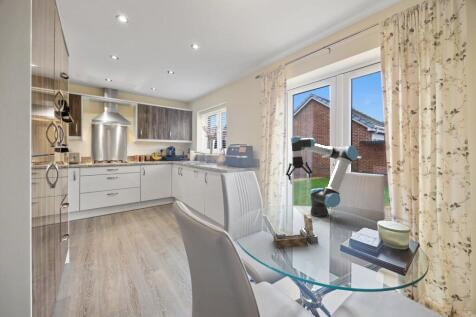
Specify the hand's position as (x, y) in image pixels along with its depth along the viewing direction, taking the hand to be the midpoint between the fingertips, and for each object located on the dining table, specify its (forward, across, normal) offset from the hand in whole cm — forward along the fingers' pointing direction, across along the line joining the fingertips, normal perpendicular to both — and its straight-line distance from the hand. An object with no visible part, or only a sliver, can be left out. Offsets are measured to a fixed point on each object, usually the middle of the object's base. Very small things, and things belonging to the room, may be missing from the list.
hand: (299, 183), depth 155 cm
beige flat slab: (+33, +4, +24) cm, 41 cm away
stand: (+33, +4, +24) cm, 41 cm away
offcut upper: (+30, +23, +26) cm, 46 cm away
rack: (+33, +18, +28) cm, 46 cm away
